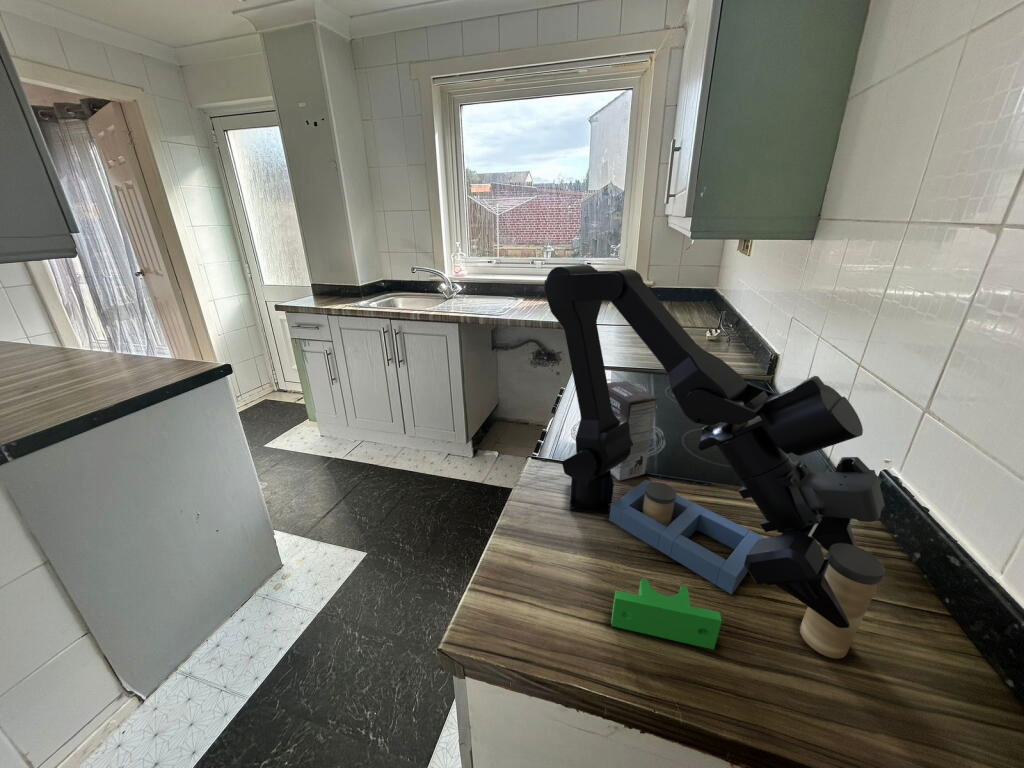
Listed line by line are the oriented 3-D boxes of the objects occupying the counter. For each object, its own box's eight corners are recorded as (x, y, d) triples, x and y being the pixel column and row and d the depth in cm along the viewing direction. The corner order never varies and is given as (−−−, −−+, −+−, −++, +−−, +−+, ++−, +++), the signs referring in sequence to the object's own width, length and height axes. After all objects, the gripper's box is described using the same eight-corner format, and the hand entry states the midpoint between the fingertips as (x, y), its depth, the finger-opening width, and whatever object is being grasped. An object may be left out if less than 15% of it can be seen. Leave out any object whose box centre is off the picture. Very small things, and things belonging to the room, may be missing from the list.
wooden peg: (811, 655, 44) (845, 573, 40) (791, 618, 48) (820, 540, 44) (857, 662, 44) (896, 578, 39) (832, 624, 48) (866, 545, 43)
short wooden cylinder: (642, 530, 62) (648, 498, 60) (638, 511, 66) (643, 480, 64) (673, 533, 62) (679, 501, 59) (667, 514, 66) (672, 483, 64)
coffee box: (591, 457, 82) (597, 383, 76) (617, 451, 84) (625, 379, 78) (619, 482, 74) (628, 402, 68) (646, 474, 76) (658, 396, 70)
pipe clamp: (707, 620, 48) (715, 592, 46) (713, 650, 45) (722, 621, 43) (611, 599, 51) (615, 571, 49) (610, 626, 47) (615, 597, 46)
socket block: (608, 520, 64) (610, 504, 63) (643, 493, 71) (645, 479, 70) (731, 594, 51) (736, 577, 50) (760, 553, 58) (765, 537, 57)
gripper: (813, 479, 34) (945, 663, 31) (857, 416, 46) (957, 544, 42) (705, 509, 43) (798, 657, 39) (765, 449, 54) (842, 559, 51)
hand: (854, 600), depth 43 cm, fingers open, 9 cm apart
